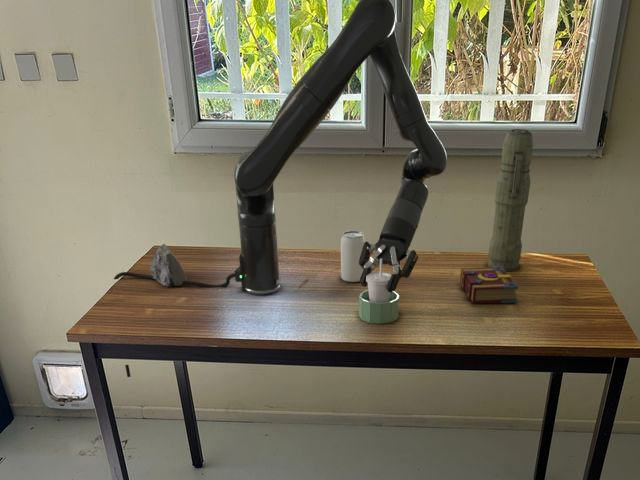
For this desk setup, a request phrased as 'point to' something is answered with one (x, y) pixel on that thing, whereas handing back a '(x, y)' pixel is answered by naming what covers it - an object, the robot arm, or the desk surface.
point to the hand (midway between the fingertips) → (376, 288)
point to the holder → (378, 309)
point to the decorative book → (488, 285)
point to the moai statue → (511, 200)
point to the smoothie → (378, 285)
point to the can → (351, 255)
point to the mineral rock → (167, 268)
